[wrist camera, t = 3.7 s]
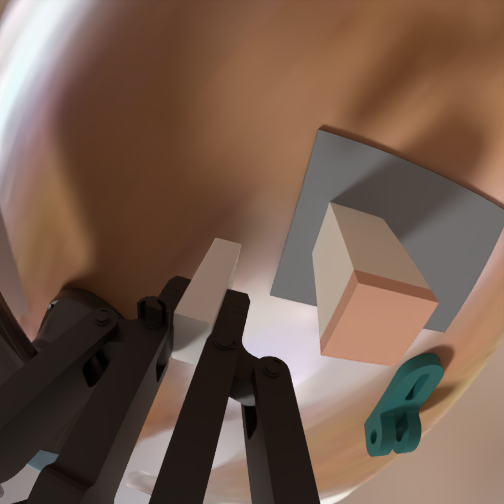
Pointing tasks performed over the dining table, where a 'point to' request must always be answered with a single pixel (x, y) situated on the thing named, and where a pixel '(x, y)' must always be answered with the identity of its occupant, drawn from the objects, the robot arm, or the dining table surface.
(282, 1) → the dining table surface
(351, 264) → the cream block
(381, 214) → the slate mat
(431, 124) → the dining table surface
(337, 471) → the dining table surface
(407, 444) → the bracket
